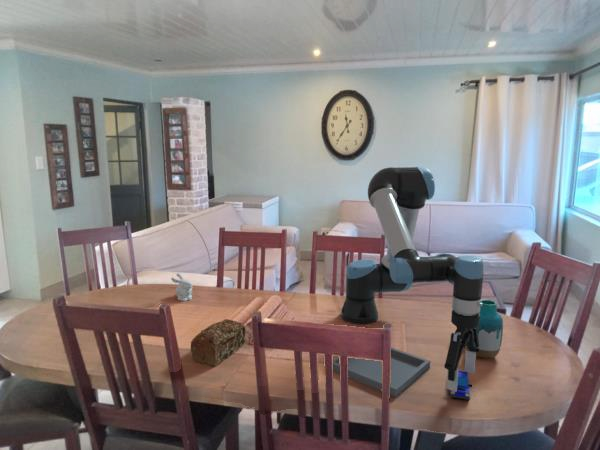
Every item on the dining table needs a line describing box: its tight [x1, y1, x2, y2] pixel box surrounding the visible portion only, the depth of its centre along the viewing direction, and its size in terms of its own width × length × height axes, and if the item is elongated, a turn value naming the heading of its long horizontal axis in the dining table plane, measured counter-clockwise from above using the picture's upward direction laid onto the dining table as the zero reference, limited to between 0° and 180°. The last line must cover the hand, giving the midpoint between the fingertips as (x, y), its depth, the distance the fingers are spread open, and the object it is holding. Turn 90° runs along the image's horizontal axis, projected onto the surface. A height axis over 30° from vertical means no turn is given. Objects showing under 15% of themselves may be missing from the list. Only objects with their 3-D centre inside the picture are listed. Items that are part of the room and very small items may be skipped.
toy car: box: [449, 369, 473, 401], centre depth 130 cm, size 7×12×5 cm, turn 163°
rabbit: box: [171, 273, 193, 302], centre depth 203 cm, size 12×9×12 cm
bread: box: [190, 319, 246, 367], centre depth 152 cm, size 19×11×10 cm, turn 154°
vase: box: [475, 299, 504, 359], centre depth 150 cm, size 11×11×19 cm
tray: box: [332, 347, 431, 398], centre depth 142 cm, size 24×22×2 cm
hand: (460, 380), depth 130 cm, fingers closed on toy car, 13 cm apart
